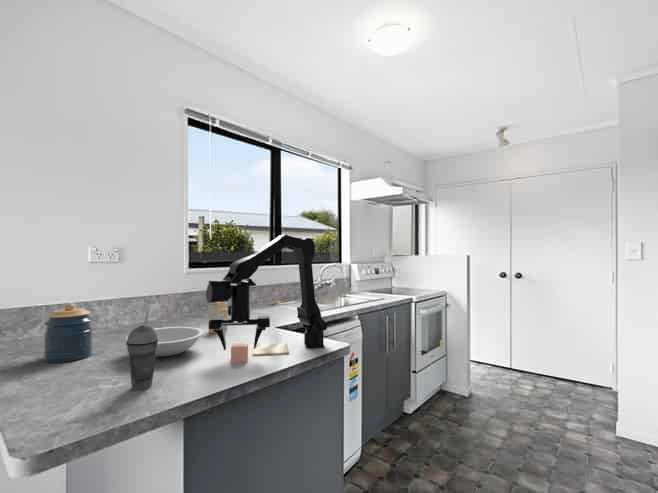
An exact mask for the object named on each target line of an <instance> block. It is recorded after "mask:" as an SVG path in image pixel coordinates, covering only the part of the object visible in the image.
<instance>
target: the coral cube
mask: <svg viewBox="0 0 658 493" xmlns="http://www.w3.org/2000/svg"><path fill="white" fill-rule="evenodd" d="M248 361H249V342H247V341H246V342H232V344H231V347H230V363H231V364H234V363H235V364H236V363H237V364H239V363H248Z"/></svg>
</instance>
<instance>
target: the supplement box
mask: <svg viewBox="0 0 658 493" xmlns="http://www.w3.org/2000/svg"><path fill="white" fill-rule="evenodd" d="M228 301H229V300H228ZM228 301H227V302H216V303H208V322H209V321H210V320H211V319H212V318H213V317H224V320H228V307H229V303H228ZM226 330H228V326H225V331H226ZM208 333H210V334H217V333H216V332H213V329H209V328H208Z"/></svg>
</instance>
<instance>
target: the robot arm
mask: <svg viewBox="0 0 658 493" xmlns="http://www.w3.org/2000/svg"><path fill="white" fill-rule="evenodd" d="M315 244H316V243H315V241H314V240H312V239H311V238H310V237H308V238H307V237H305V238H302V237H301V238H300V237H296V236H291V235H288V234H280V235H278V236H277V237H275V239H274V238H273V240H271V241H270V242H269V243H266V244H265V245H264V246H263V247H260V249H258V250H256V252H253V254H251V255H248V256H246V257H242V258H240V259H238V260H236V261H235V260H234V261H233V262H232V263H231V264H230V265H229V268H228V269H229V270H228V272H227V273H226V274H225V276H224V277H223V279H222V280H213V279H212V280H210V279H209V280H208V284H207V287H206V290H205V298H206V301H207V303H208V304H209V303H216V302H227V301H229V300H230V299H231V300H230V305H228V308H227V316H229V317H230V319H227V320H224V317H213V318H212V319H211V320H210V321H209V320H208V330H209V329H213V332H216V333H215V334H217V336H218V338H219V340H220V343H221V345H222V348H223V351H226V350H227V343H226V342H227V341H226V332H225V331H226V330H225V326H227V327H229V326H255V325H256V327H255V328H256V329H255V333H254V334H255V336H254V343H253V349H255V348H256V345H257V344H258V342H259V339H260V336H261V334H262V332H263V331H266V328H270V327H271V323H270V322H271V321H270V320H271V318H270V316H269V315H258V316H257V318H251V310H250V304H251V303H250V298H251V297H250V292H251V291H250V287H256V286H257V284H256V283H255V282H254V281H253V280H252V278H251V277H252V276H253V275H254V274H255V273H256V272H257V271H258V269H259V267H260V266H261V265H262V264H263V263H265V262H266V261H268V260H269V259H271V258H272V257H273V256H275V255H276V254H278V253H279V252H281V251H283V249H285V248H286V249H288V250H291V251H292V252H293V256H294V258H295V260H296V261H297V264H298V273H299V281H300V282H299V283H300V293H301V304H300V306H297V307H296V312H297V317H296V318H297V319H298V320H299V322H300V323H301V326H302V328H303V329H305V332H304V333H303V343H304V345H305V347H306V349H316V348H325V344H324V339H325V338H324V334H325V331H327V329H328V323H327V322H326V321H325V320H324V319H323V318H322V313H321V308H320V307H319V305H318V303H317V301H316V295H315V284H314V273H313V271H314V270H313V260H314V257H315V255H316V254H315V253H316V245H315Z"/></svg>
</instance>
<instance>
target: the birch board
mask: <svg viewBox="0 0 658 493" xmlns="http://www.w3.org/2000/svg"><path fill="white" fill-rule="evenodd" d="M252 350H253V351H252V356H253V357H254V356H255V357H256V356H273V355H274V356H276V355H280V356H281V355H289V354H290V350H289V348H288V342H285V343H262V344H260V343H257V345H256V348H255V349H254V348H253V349H252Z"/></svg>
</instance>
